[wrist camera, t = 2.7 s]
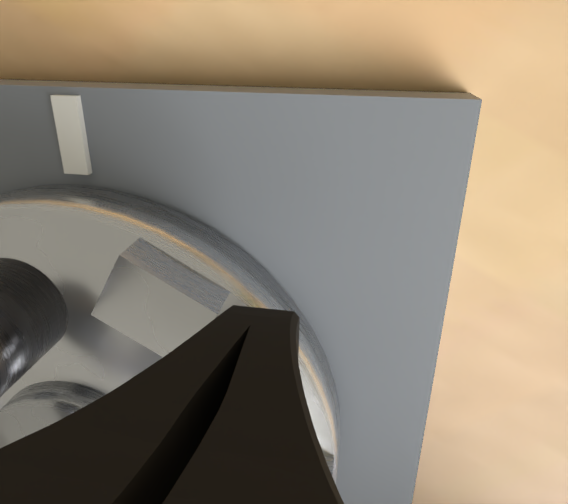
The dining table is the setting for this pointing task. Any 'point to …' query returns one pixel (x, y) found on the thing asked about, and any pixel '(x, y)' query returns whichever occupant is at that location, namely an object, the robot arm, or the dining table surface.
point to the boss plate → (291, 218)
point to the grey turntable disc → (120, 302)
